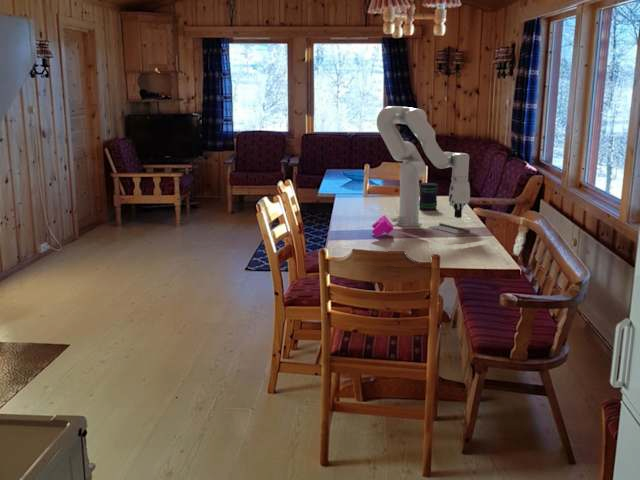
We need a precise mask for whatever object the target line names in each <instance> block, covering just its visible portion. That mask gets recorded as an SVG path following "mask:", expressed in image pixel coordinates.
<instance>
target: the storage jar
mask: <svg viewBox="0 0 640 480" xmlns="http://www.w3.org/2000/svg"><path fill="white" fill-rule="evenodd" d="M438 186H439V185H438V183H435V182H419V210H421V211H425V212H426V211H427V212H435V211H437V206H438V204H437V203H438V200H437V199H438V198H437V196H438Z"/></svg>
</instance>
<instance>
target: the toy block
mask: <svg viewBox="0 0 640 480" xmlns="http://www.w3.org/2000/svg"><path fill="white" fill-rule="evenodd" d="M371 228H373V229H372V230H371V232H372V234H373V235H374V236H375V237H376V238H379V237H380V236H381V235H383V234H384V233H386V234H387V235H388V234H390V233H391V232H392V231H393V230H394V225H393V222H392V221H390V220H389V219H388V217H387V216H386V215H385V214H383V215H382V216H381V217H380V218H379V219H378V220H376V221H375V222H374V223H373V224H372V225H371Z"/></svg>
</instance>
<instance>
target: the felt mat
mask: <svg viewBox="0 0 640 480" xmlns="http://www.w3.org/2000/svg"><path fill="white" fill-rule="evenodd" d="M428 228H429V229H433V230H439V231H442V232H445V233H449V234H450V233H451V234H454V235H457V234H464V233H467V232H465V231H461V230H457V229H453V228H448V227H444V226H440V225H439V224H438V225H433V226H429V227H428Z"/></svg>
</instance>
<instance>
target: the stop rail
mask: <svg viewBox="0 0 640 480" xmlns="http://www.w3.org/2000/svg"><path fill="white" fill-rule="evenodd" d="M439 225H440V226H444V227H448V228H453V229H457V230H461V231H465V232H466V233H468V234H470V233H471V229H468V228H463V227H460V226H454V225H451V224H446V223H443V222H439V224H438V226H439Z"/></svg>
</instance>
